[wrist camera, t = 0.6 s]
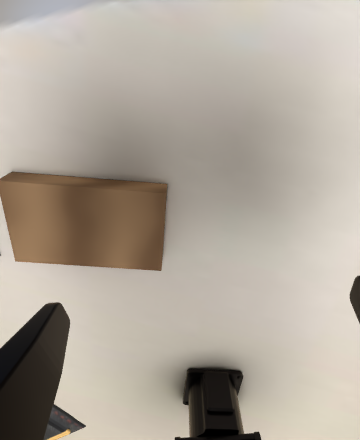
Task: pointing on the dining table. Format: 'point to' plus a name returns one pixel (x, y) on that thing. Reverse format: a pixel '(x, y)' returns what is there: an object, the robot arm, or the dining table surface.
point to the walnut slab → (84, 220)
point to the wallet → (61, 424)
